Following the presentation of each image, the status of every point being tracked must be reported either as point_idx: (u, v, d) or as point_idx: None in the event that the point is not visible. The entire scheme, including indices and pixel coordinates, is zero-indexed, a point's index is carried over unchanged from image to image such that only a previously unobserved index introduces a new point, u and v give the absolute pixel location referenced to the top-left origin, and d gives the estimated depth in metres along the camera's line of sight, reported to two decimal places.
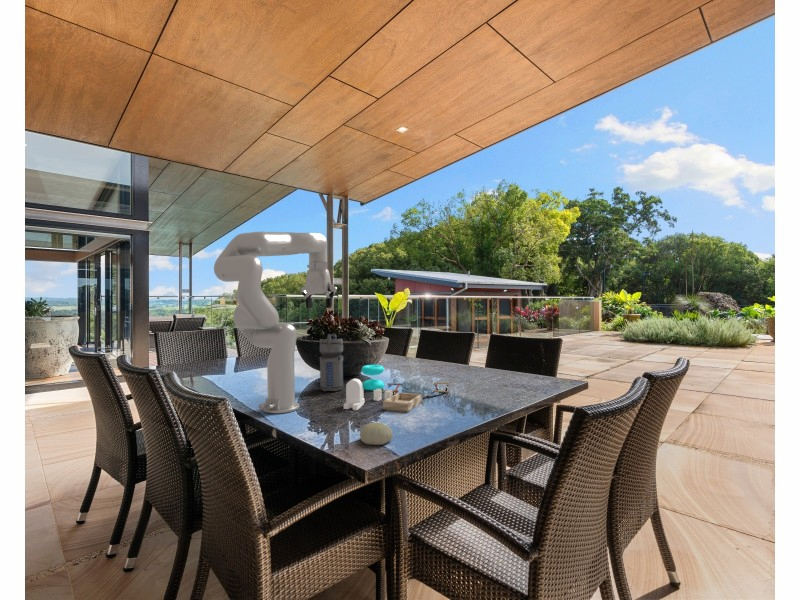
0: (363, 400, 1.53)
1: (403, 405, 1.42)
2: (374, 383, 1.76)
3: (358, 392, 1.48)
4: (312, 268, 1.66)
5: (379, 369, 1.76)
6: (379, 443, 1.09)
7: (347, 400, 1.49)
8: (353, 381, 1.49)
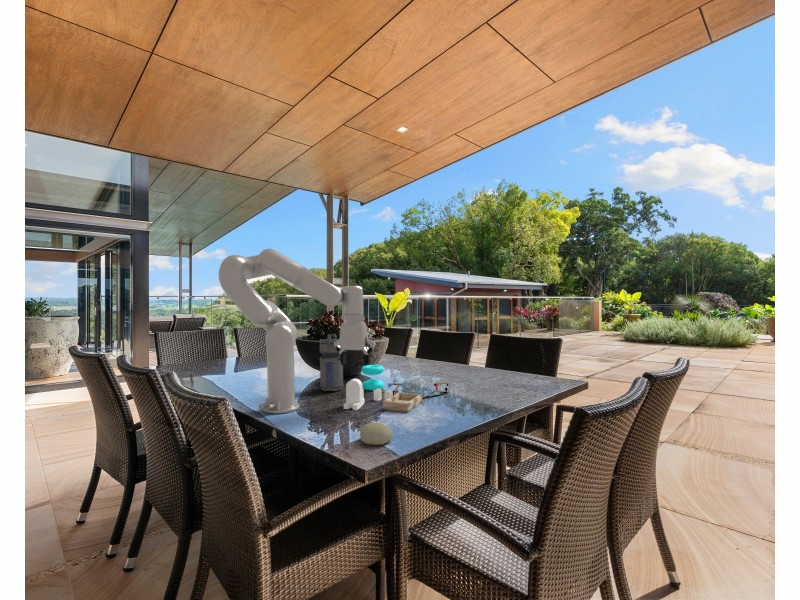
0: (363, 400, 1.53)
1: (403, 405, 1.42)
2: (374, 383, 1.76)
3: (358, 392, 1.48)
4: (347, 321, 1.47)
5: (379, 369, 1.76)
6: (379, 443, 1.09)
7: (347, 400, 1.49)
8: (353, 381, 1.49)
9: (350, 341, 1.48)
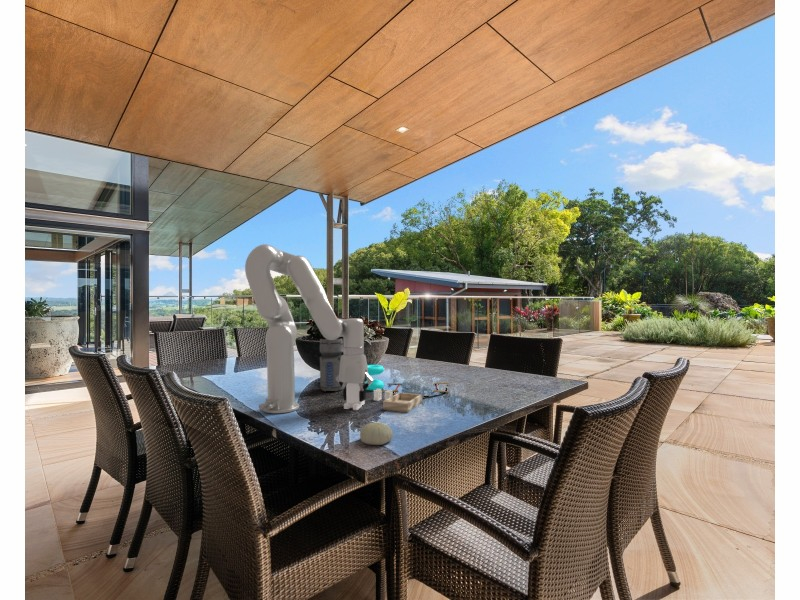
0: None
1: (403, 405, 1.42)
2: (374, 383, 1.76)
3: (358, 392, 1.48)
4: (347, 355, 1.47)
5: (379, 369, 1.76)
6: (379, 443, 1.09)
7: (347, 400, 1.49)
8: None
9: (350, 374, 1.48)
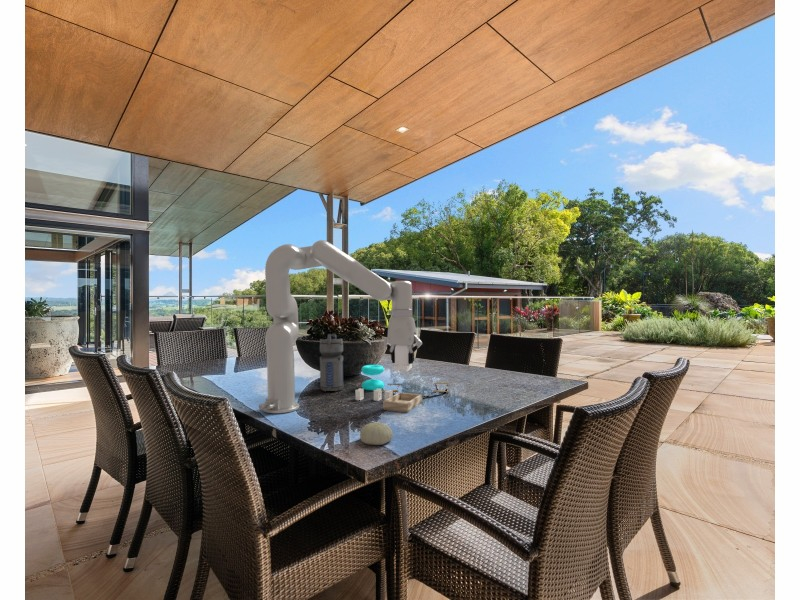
0: None
1: (403, 405, 1.42)
2: (374, 383, 1.76)
3: (407, 354, 1.48)
4: (397, 317, 1.46)
5: (379, 369, 1.76)
6: (379, 443, 1.09)
7: (396, 362, 1.49)
8: None
9: (399, 336, 1.47)
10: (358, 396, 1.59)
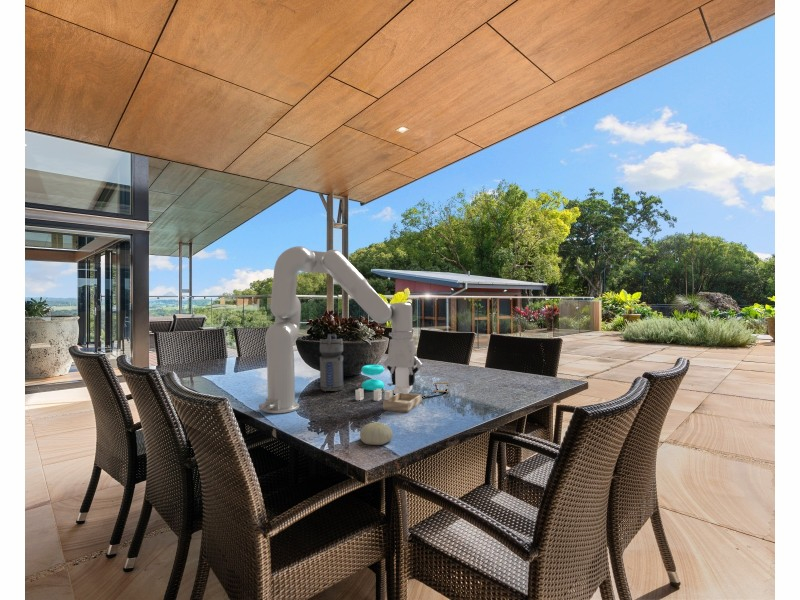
0: None
1: (403, 405, 1.42)
2: (374, 383, 1.76)
3: (408, 376, 1.48)
4: (397, 339, 1.46)
5: (379, 369, 1.76)
6: (379, 443, 1.09)
7: (396, 384, 1.49)
8: None
9: (399, 358, 1.47)
10: (358, 396, 1.59)
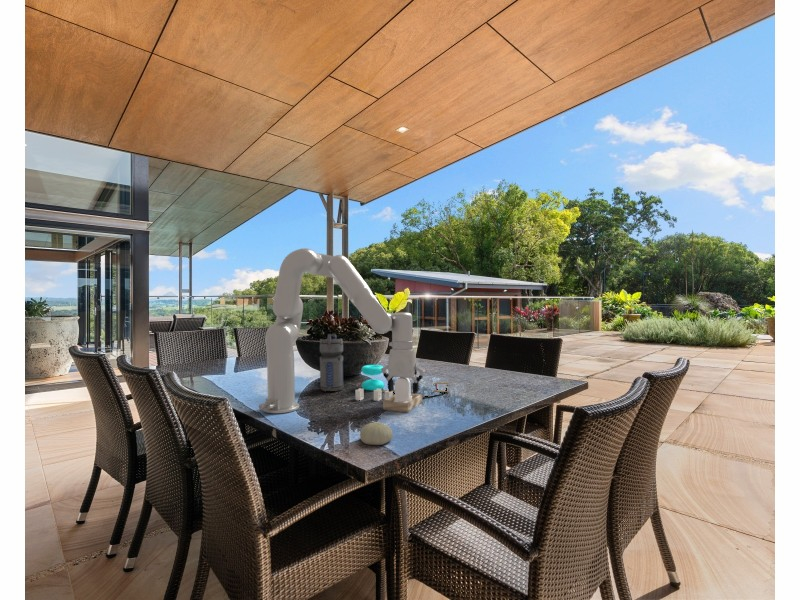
0: (411, 398, 1.52)
1: (403, 405, 1.42)
2: (374, 383, 1.76)
3: (407, 390, 1.48)
4: (397, 349, 1.46)
5: (379, 369, 1.76)
6: (379, 443, 1.09)
7: (396, 398, 1.49)
8: (402, 379, 1.48)
9: (399, 368, 1.47)
10: (358, 396, 1.59)
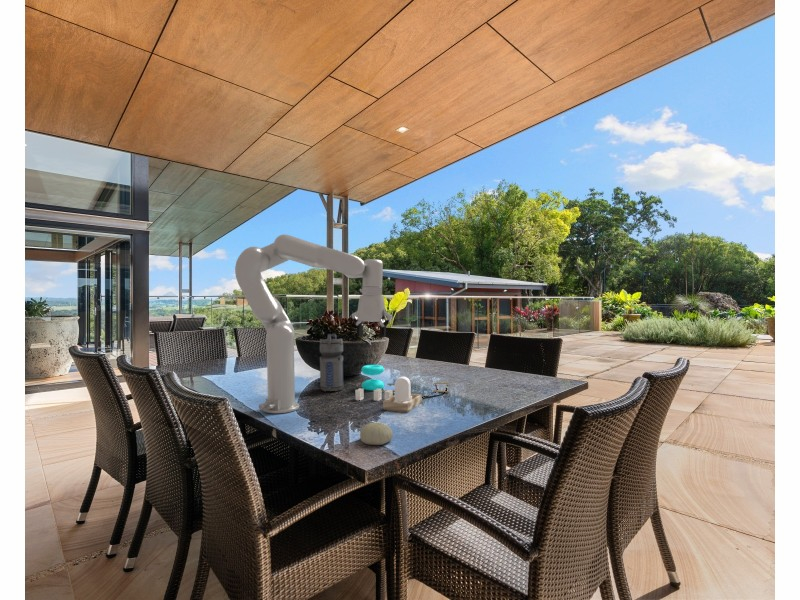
0: (411, 398, 1.52)
1: (403, 405, 1.42)
2: (374, 383, 1.76)
3: (407, 390, 1.48)
4: (366, 293, 1.51)
5: (379, 369, 1.76)
6: (379, 443, 1.09)
7: (396, 398, 1.49)
8: (402, 379, 1.48)
9: (368, 313, 1.52)
10: (358, 396, 1.59)
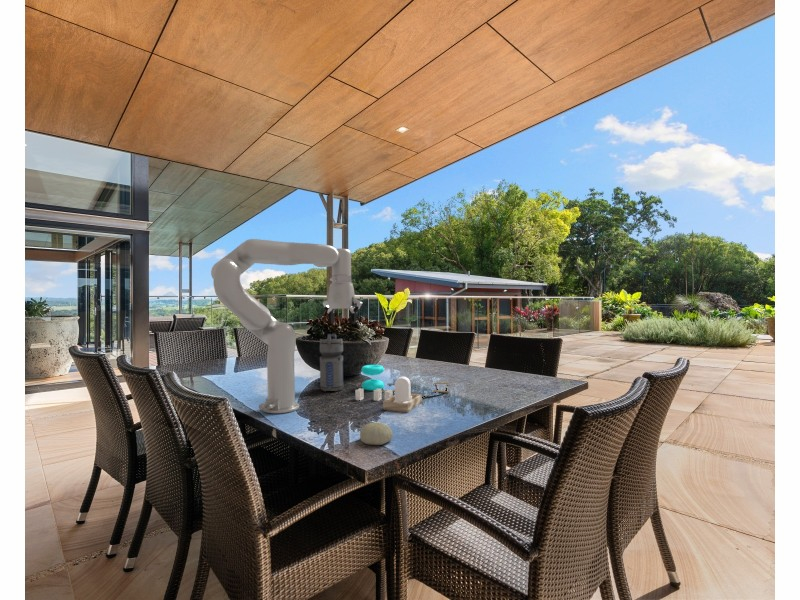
0: (411, 398, 1.52)
1: (403, 405, 1.42)
2: (374, 383, 1.76)
3: (407, 390, 1.48)
4: (335, 281, 1.57)
5: (379, 369, 1.76)
6: (379, 443, 1.09)
7: (396, 398, 1.49)
8: (402, 379, 1.48)
9: (338, 300, 1.58)
10: (358, 396, 1.59)
